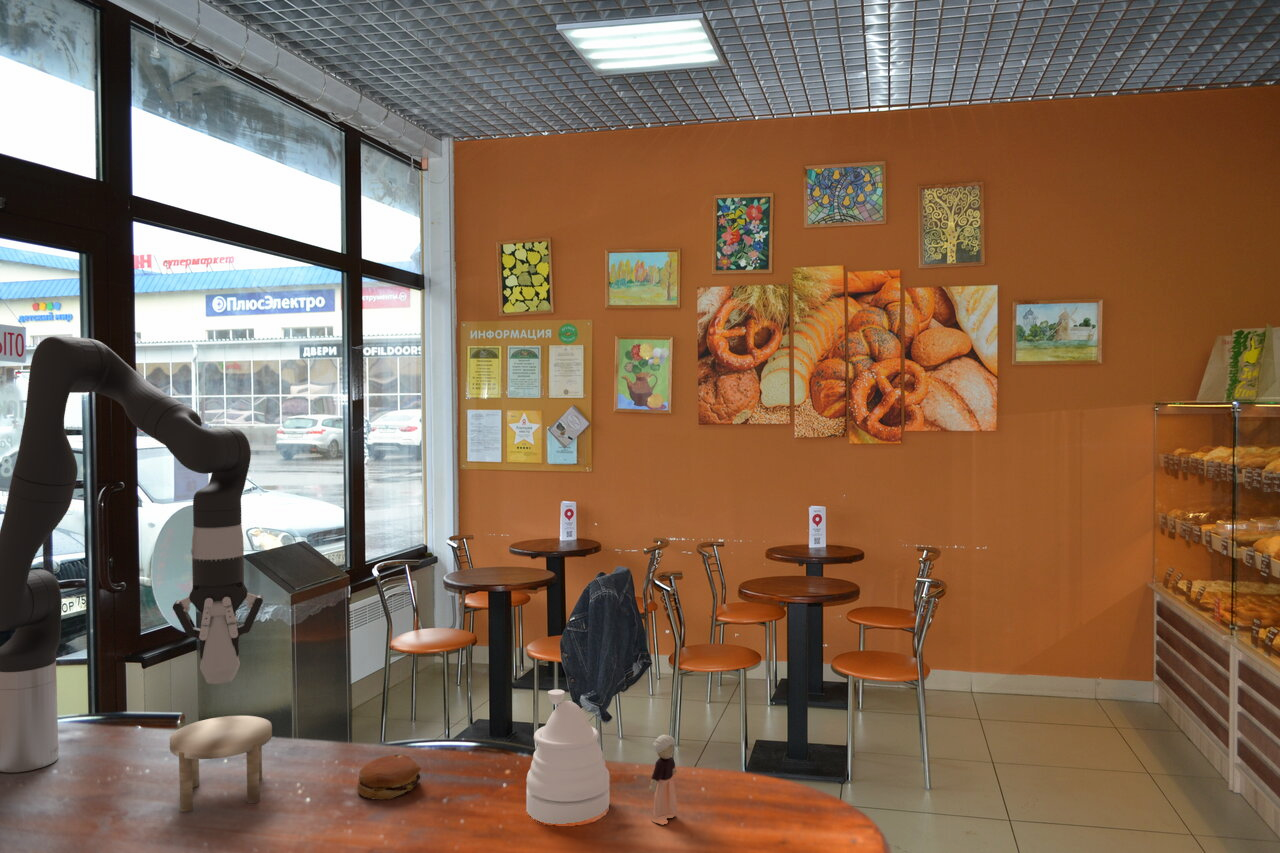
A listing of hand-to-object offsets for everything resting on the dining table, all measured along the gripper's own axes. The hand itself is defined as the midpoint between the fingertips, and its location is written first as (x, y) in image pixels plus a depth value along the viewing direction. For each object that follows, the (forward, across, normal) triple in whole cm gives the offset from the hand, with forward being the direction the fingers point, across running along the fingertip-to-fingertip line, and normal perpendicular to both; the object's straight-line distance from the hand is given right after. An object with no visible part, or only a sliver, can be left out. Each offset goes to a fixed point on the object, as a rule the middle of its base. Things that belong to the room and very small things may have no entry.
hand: (219, 660), depth 155 cm
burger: (+22, -26, +7) cm, 34 cm away
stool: (+22, 0, 0) cm, 22 cm away
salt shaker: (+3, 0, 0) cm, 3 cm away
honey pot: (+22, -51, +24) cm, 60 cm away
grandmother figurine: (+22, -64, +32) cm, 75 cm away
